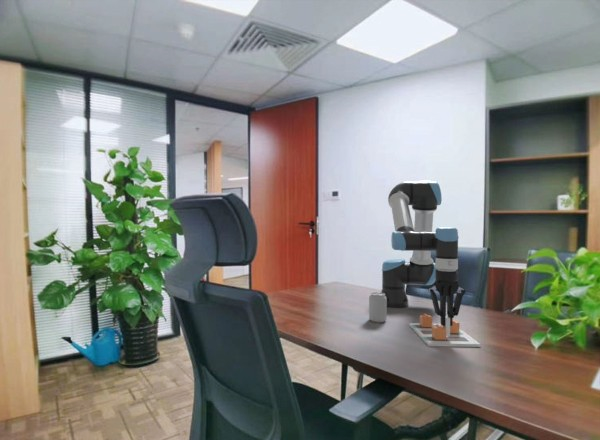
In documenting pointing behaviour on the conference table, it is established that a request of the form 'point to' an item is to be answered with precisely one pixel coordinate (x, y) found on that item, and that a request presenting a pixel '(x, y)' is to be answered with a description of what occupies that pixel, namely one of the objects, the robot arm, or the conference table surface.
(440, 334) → the tab
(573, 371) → the conference table surface
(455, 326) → the tab
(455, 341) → the panel
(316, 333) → the conference table surface
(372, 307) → the can
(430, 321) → the orange small block
